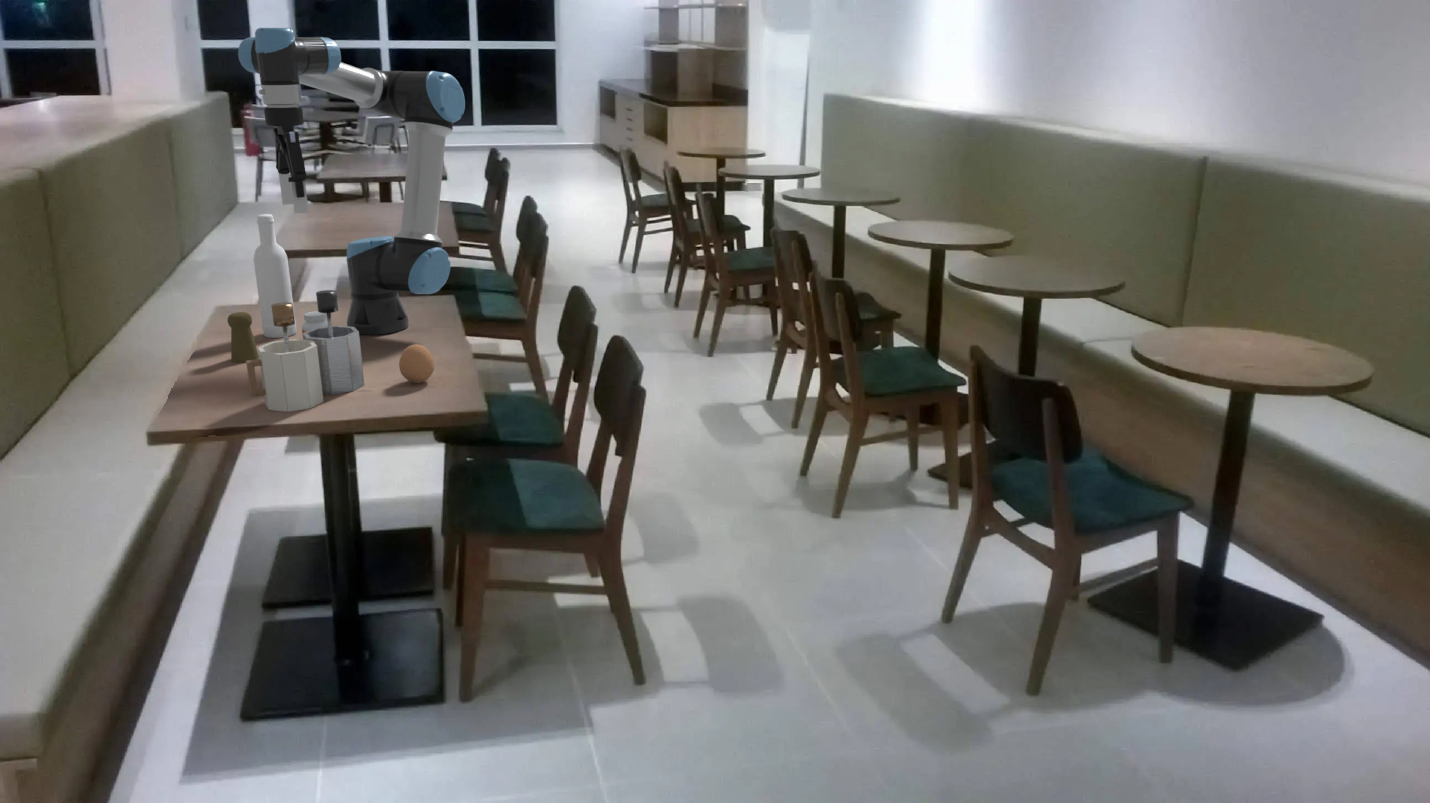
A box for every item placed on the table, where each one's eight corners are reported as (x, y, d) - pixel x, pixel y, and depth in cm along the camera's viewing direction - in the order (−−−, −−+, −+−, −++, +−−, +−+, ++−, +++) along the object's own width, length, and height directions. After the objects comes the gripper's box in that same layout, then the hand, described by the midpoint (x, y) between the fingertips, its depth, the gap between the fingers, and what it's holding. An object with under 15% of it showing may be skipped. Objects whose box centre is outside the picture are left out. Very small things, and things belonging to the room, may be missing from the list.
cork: (249, 363, 253) (242, 316, 250) (225, 361, 254) (218, 315, 251) (264, 356, 259) (258, 310, 255) (241, 354, 260) (235, 309, 257)
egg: (406, 377, 243) (403, 340, 241) (439, 377, 243) (436, 340, 240) (396, 387, 236) (392, 349, 234) (430, 387, 236) (427, 349, 233)
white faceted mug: (316, 391, 234) (309, 337, 230) (326, 405, 225) (320, 349, 221) (249, 401, 227) (241, 345, 223) (257, 416, 218) (249, 358, 215)
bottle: (300, 335, 276) (285, 215, 267) (268, 339, 272) (251, 218, 263) (292, 328, 283) (277, 211, 273) (260, 332, 278) (244, 214, 269)
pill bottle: (301, 363, 253) (296, 316, 250) (310, 355, 259) (304, 310, 256) (329, 363, 254) (323, 316, 250) (337, 355, 259) (331, 310, 256)
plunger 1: (306, 382, 230) (296, 299, 224) (313, 391, 225) (303, 306, 219) (272, 387, 227) (261, 303, 221) (278, 396, 221) (266, 310, 216)
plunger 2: (348, 367, 241) (339, 287, 235) (355, 375, 235) (346, 293, 229) (315, 371, 237) (306, 290, 232) (322, 380, 232) (312, 297, 226)
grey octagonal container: (356, 375, 244) (350, 323, 240) (368, 388, 235) (362, 334, 231) (293, 385, 238) (286, 331, 234) (303, 398, 229) (296, 343, 225)
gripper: (253, 103, 237) (266, 202, 243) (274, 110, 216) (287, 218, 223) (290, 101, 240) (302, 199, 247) (313, 109, 220) (325, 215, 227)
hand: (295, 208), depth 235 cm, fingers open, 13 cm apart
